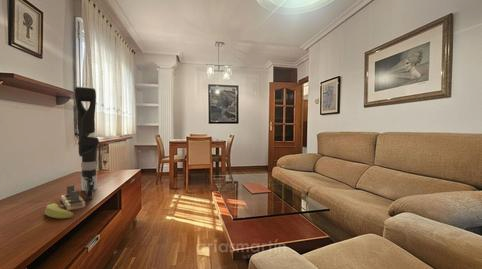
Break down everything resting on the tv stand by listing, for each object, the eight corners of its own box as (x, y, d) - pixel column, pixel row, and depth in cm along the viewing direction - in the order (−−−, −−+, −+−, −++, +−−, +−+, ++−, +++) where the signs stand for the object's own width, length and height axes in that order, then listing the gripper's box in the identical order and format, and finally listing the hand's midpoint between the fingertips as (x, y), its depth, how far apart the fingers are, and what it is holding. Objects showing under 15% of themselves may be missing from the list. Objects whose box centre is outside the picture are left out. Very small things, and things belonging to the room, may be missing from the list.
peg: (85, 199, 138) (85, 184, 137) (92, 198, 140) (91, 182, 140) (86, 201, 135) (86, 185, 135) (93, 199, 138) (93, 184, 137)
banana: (41, 207, 105) (51, 200, 123) (37, 219, 104) (48, 210, 122) (75, 210, 112) (80, 202, 129) (71, 221, 111) (77, 212, 128)
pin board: (61, 200, 136) (61, 185, 136) (77, 197, 142) (77, 183, 141) (67, 210, 120) (67, 194, 120) (85, 206, 126) (84, 191, 125)
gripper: (79, 167, 139) (79, 194, 140) (84, 171, 129) (84, 199, 130) (93, 166, 144) (93, 191, 145) (98, 169, 135) (99, 197, 135)
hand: (89, 195), depth 137 cm, fingers closed on peg, 3 cm apart
